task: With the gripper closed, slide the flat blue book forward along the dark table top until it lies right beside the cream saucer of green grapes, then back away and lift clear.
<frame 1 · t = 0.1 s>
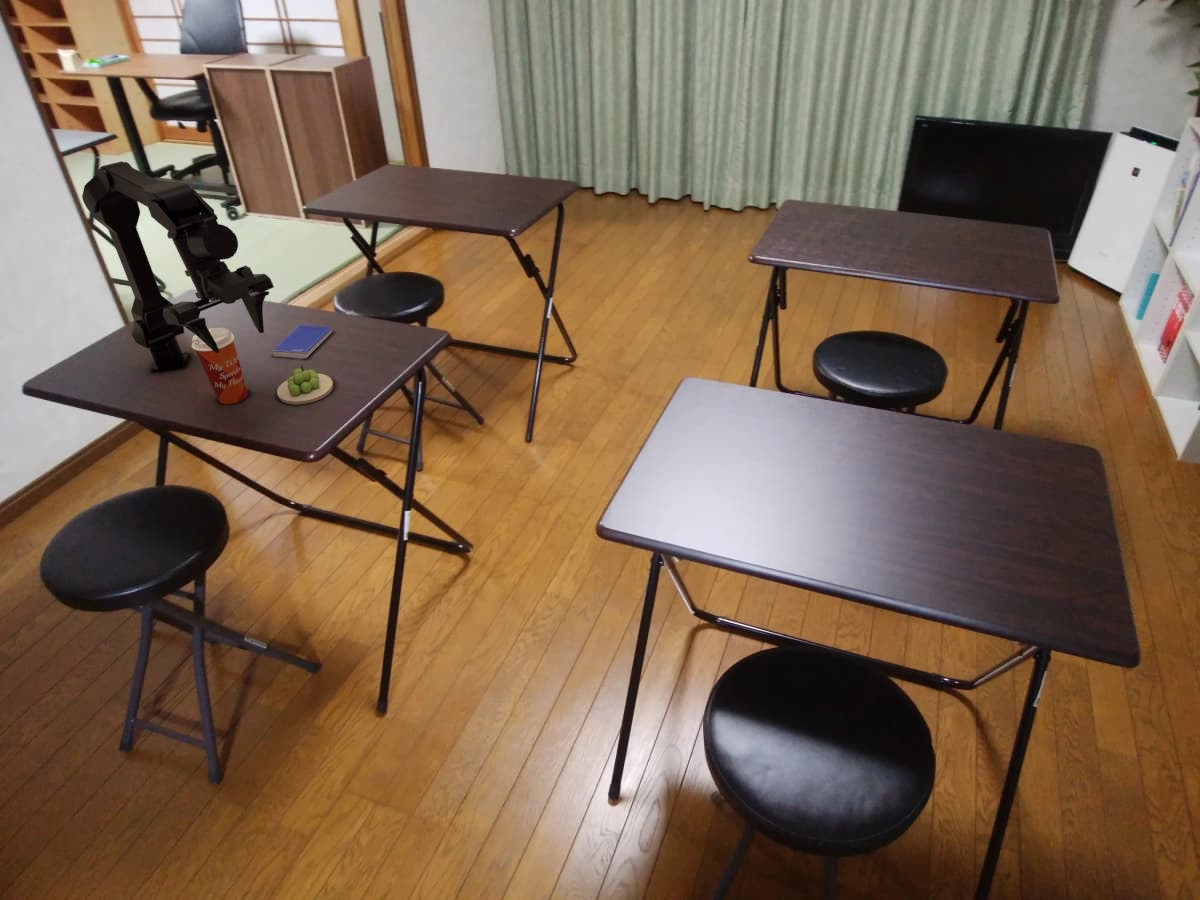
hand: (240, 342, 141), 15 cm above the table, tool pointing down, fingers open, 9 cm apart
green grapes: (301, 376, 155), on the grape saucer, point 3 cm above the table
grape saucer: (305, 390, 156), on the table
paper cup: (233, 397, 155), on the table
blue book: (303, 345, 173), on the table
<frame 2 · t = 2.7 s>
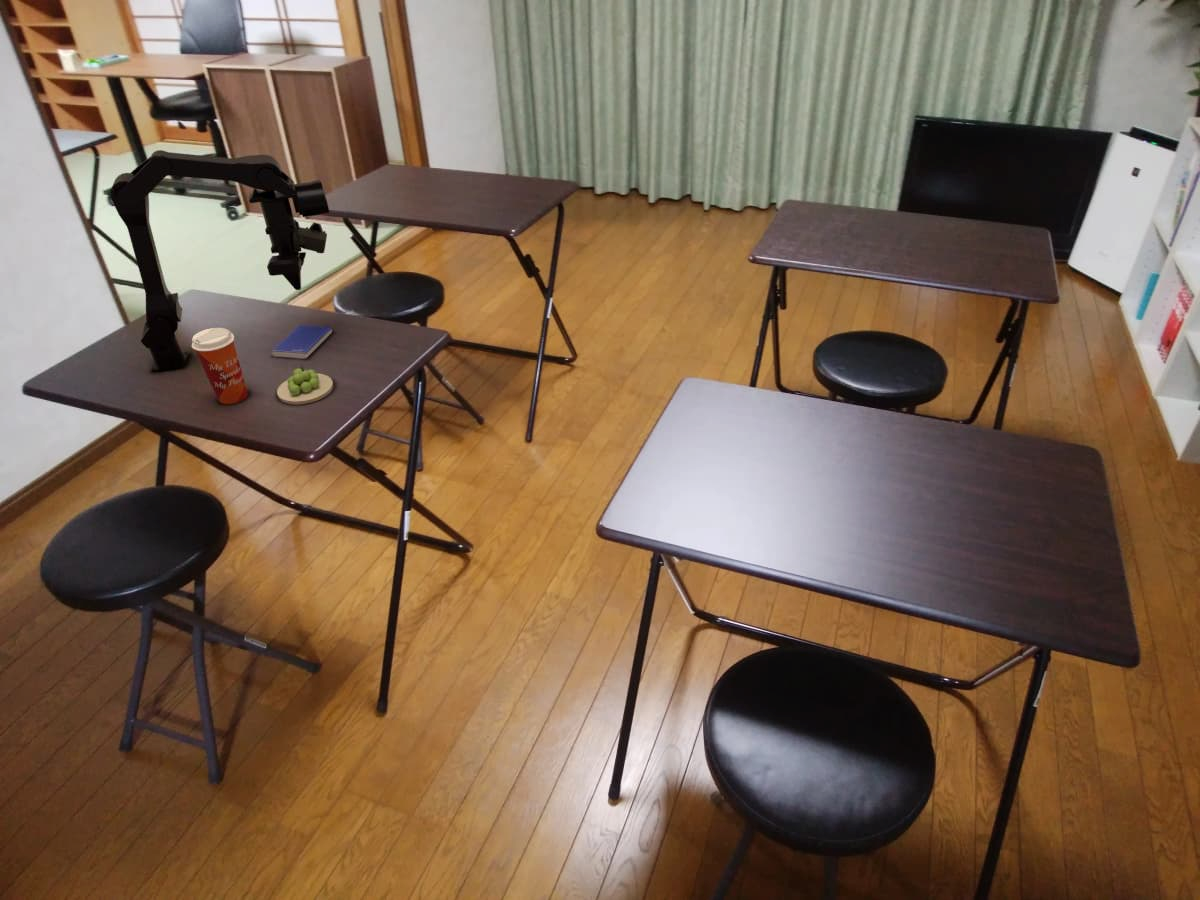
hand: (298, 289, 168), 12 cm above the table, tool pointing down, fingers closed
nothing on the table moved.
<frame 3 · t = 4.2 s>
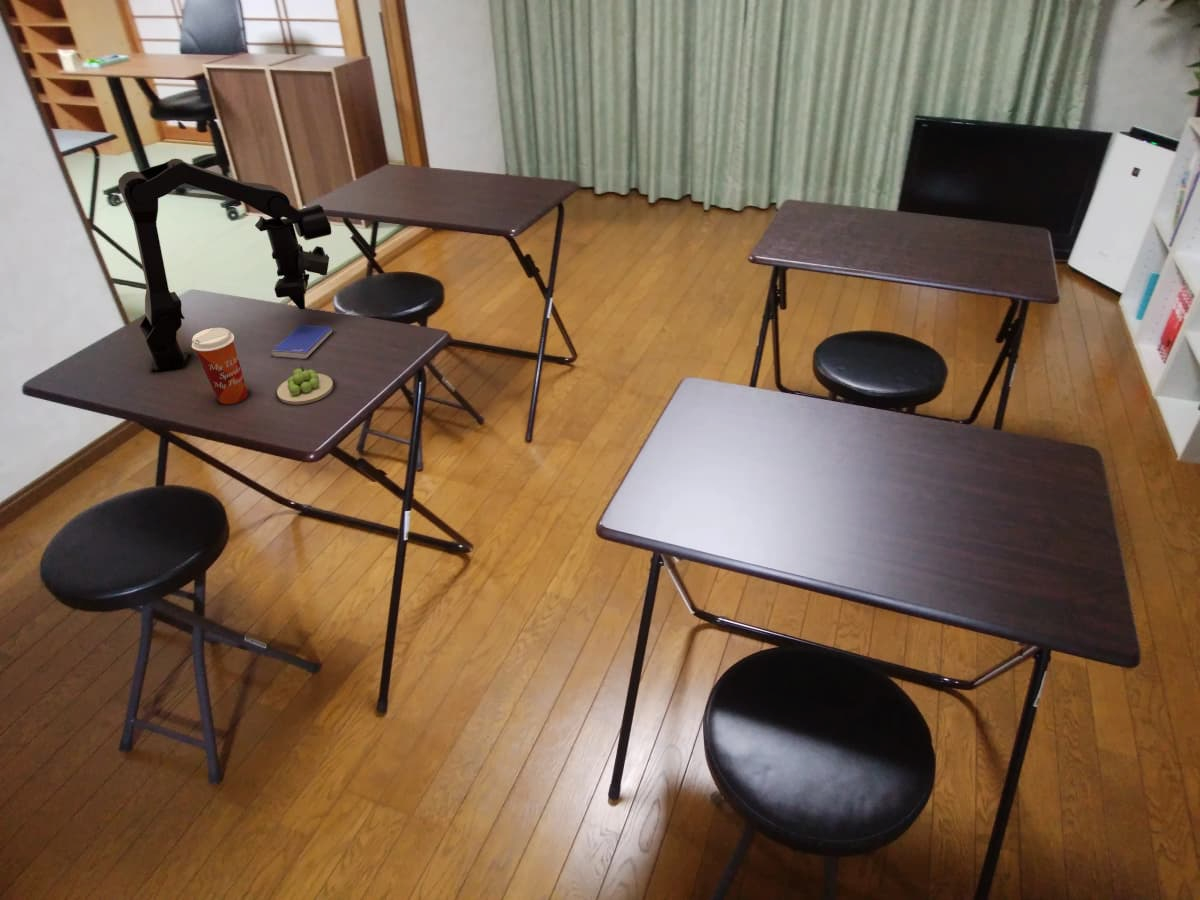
hand: (302, 308, 179), 4 cm above the table, tool pointing down, fingers closed
nothing on the table moved.
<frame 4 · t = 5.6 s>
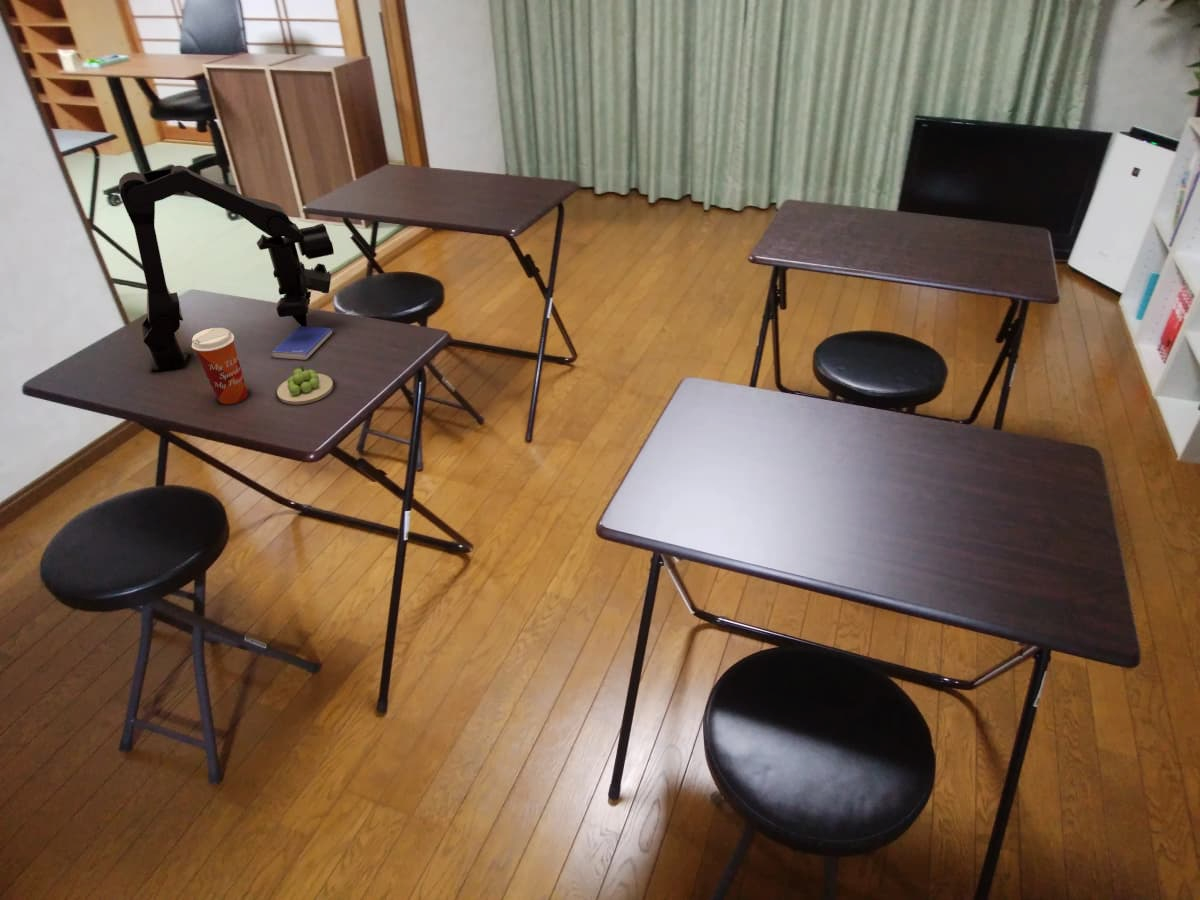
hand: (304, 326, 177), 1 cm above the table, tool pointing down, fingers closed
blue book: (303, 346, 172), on the table, touching gripper
everything else where it was.
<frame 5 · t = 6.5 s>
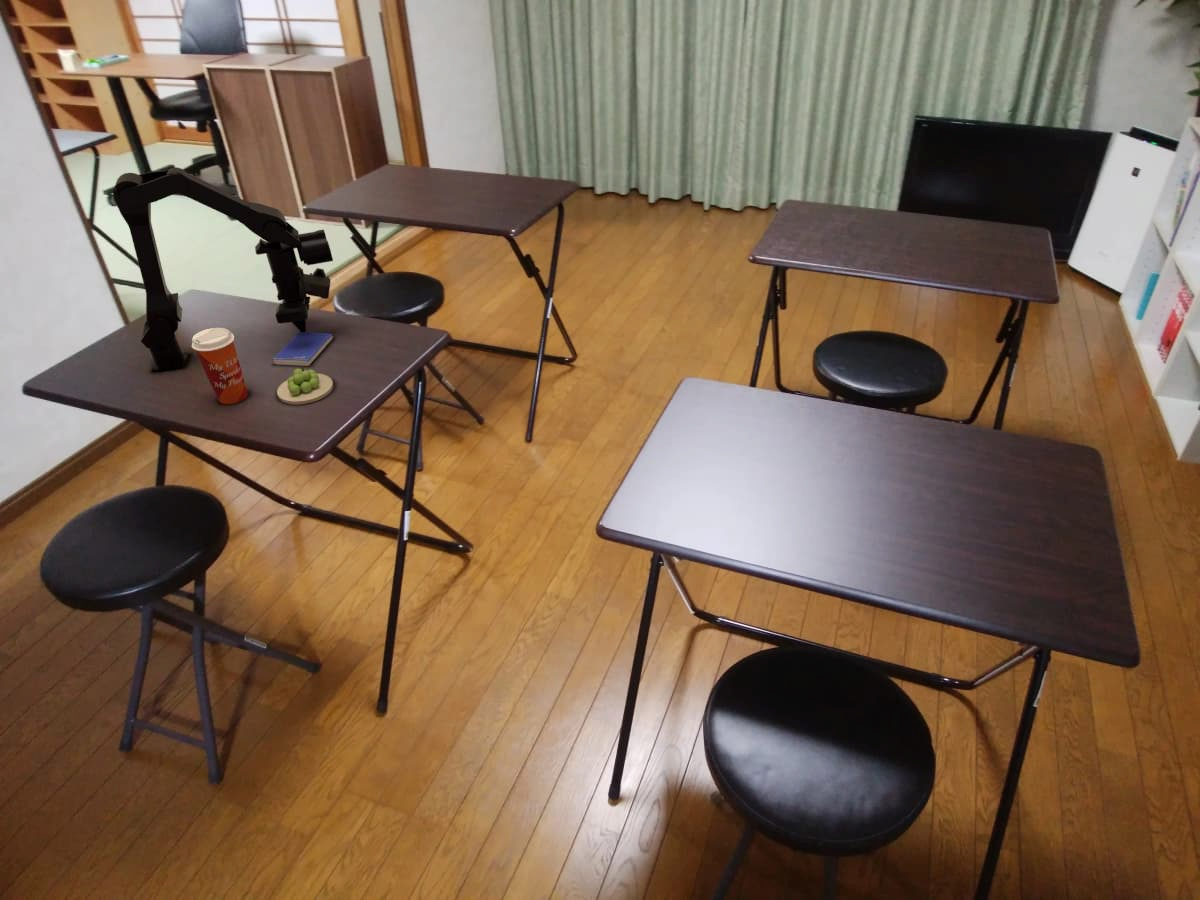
hand: (303, 332, 175), 1 cm above the table, tool pointing down, fingers closed
blue book: (304, 352, 170), on the table, touching gripper
everything else where it was.
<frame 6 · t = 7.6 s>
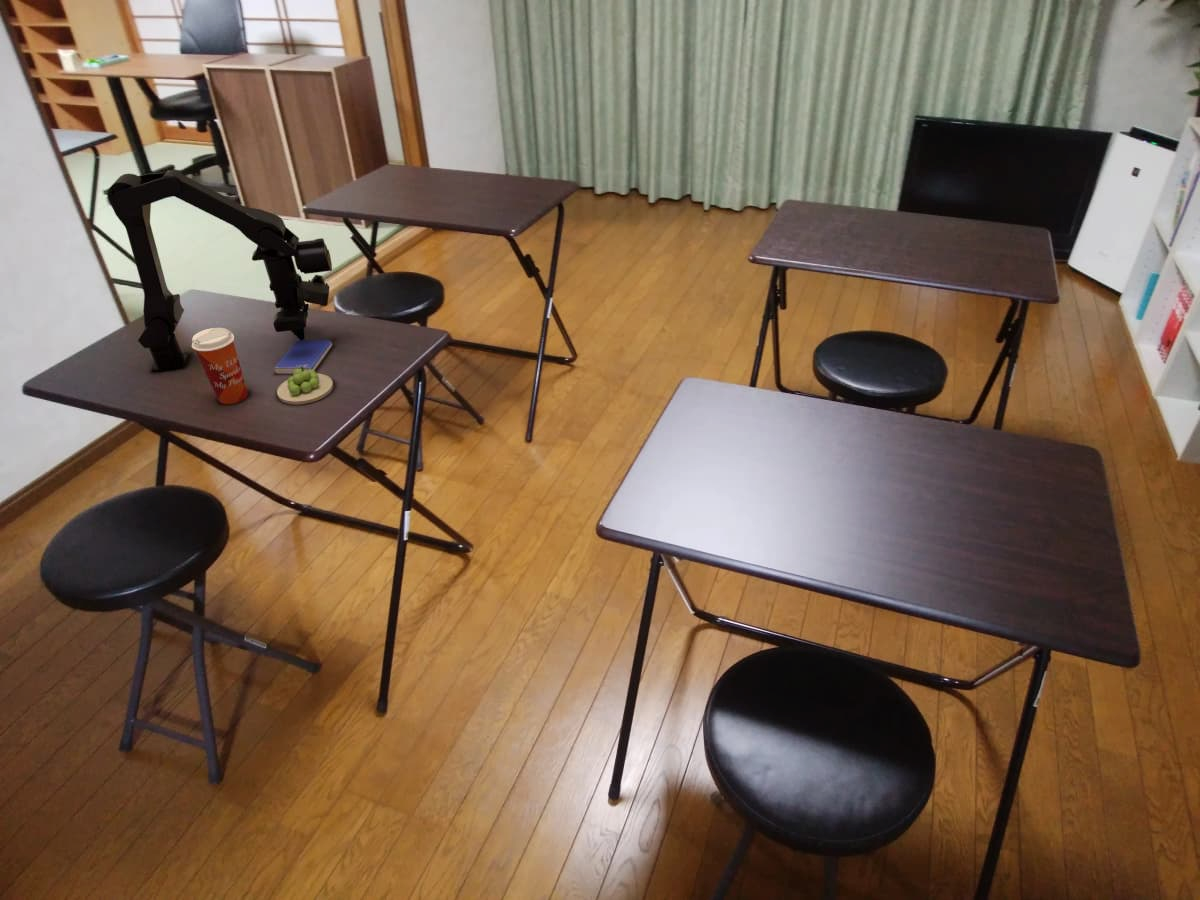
hand: (302, 339, 171), 1 cm above the table, tool pointing down, fingers closed, pressing on blue book
blue book: (305, 360, 167), on the table, touching gripper
everything else where it was.
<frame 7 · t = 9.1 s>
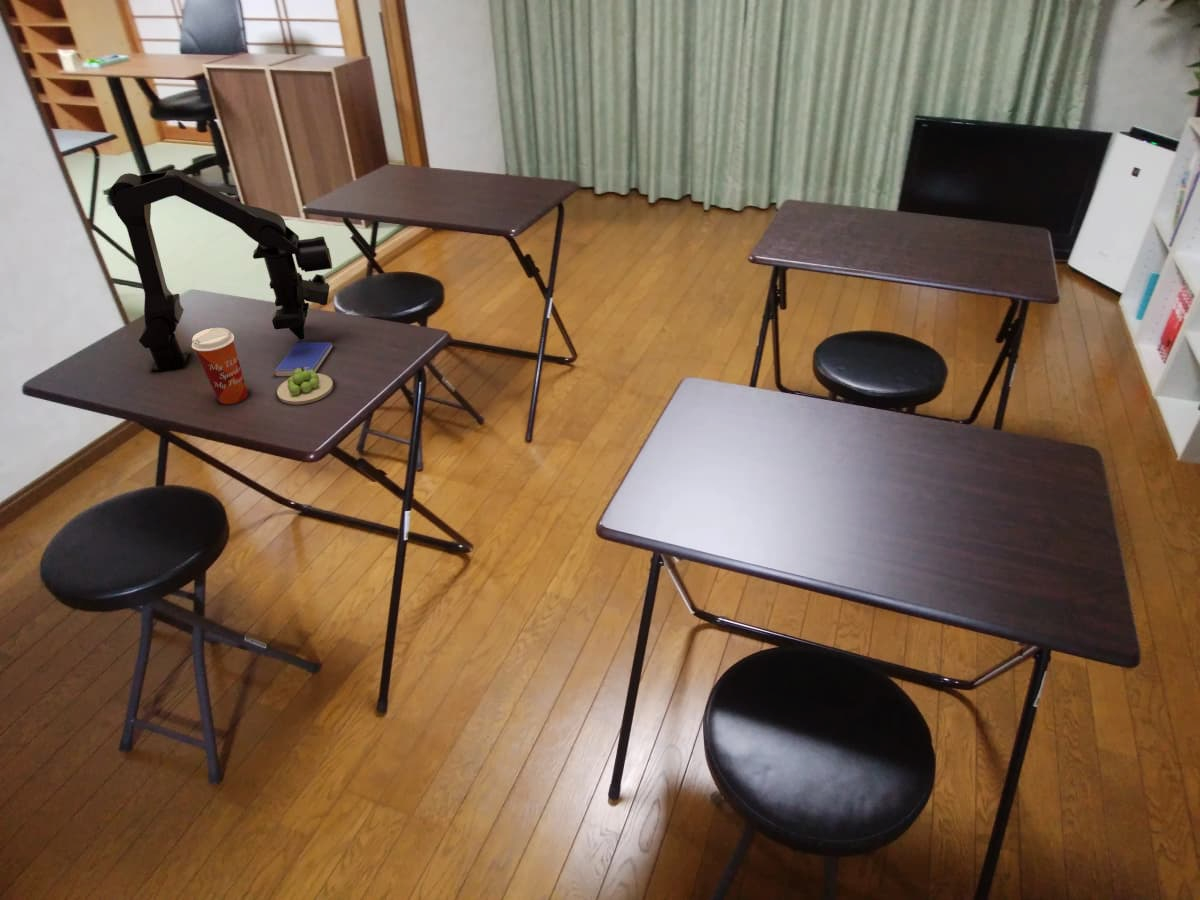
hand: (302, 338, 172), 1 cm above the table, tool pointing down, fingers closed
blue book: (305, 362, 166), on the table, touching grape saucer
everything else where it was.
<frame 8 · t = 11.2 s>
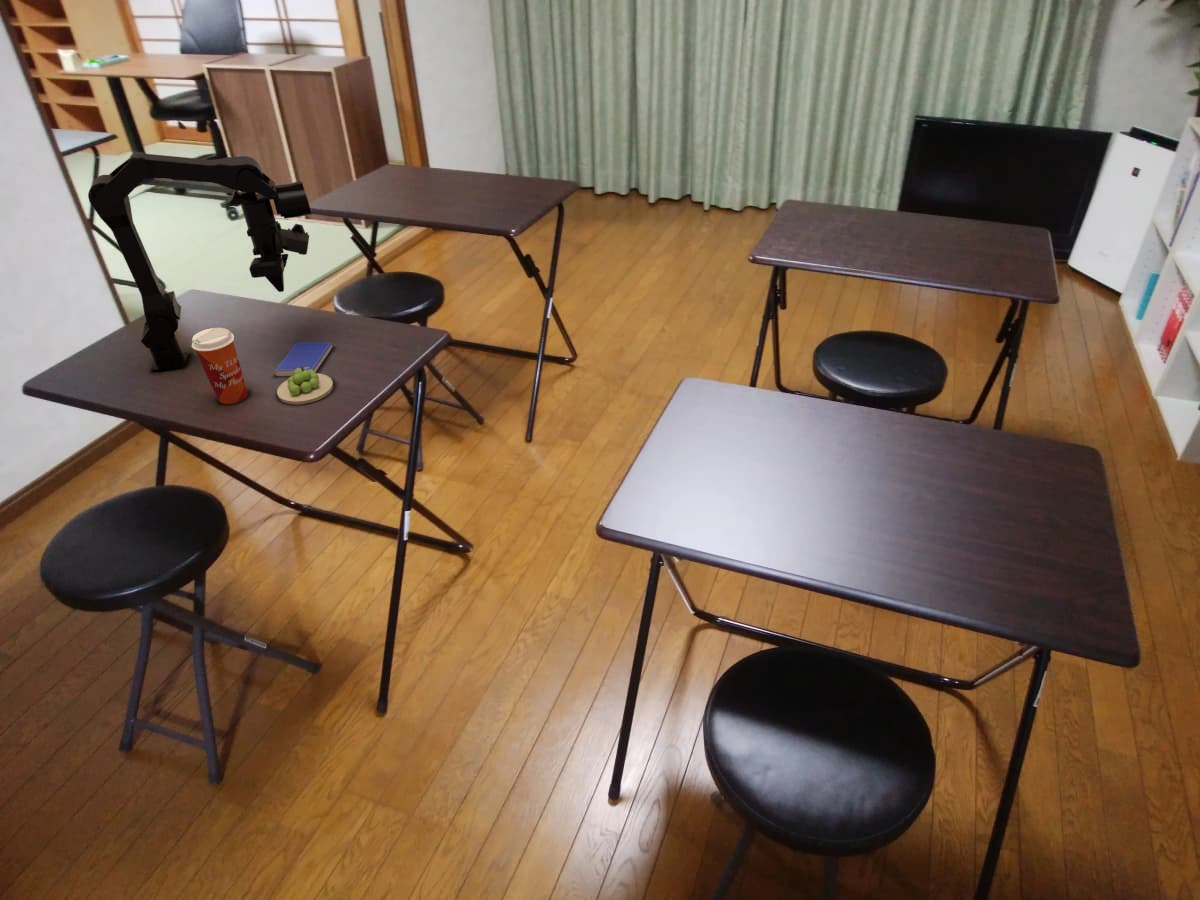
hand: (281, 291, 168), 12 cm above the table, tool pointing down, fingers closed
nothing on the table moved.
at the end: blue book inside the target area (1.1 cm from its centre), on the table; blue book 12.5 cm from the grape saucer (horizontally) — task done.
